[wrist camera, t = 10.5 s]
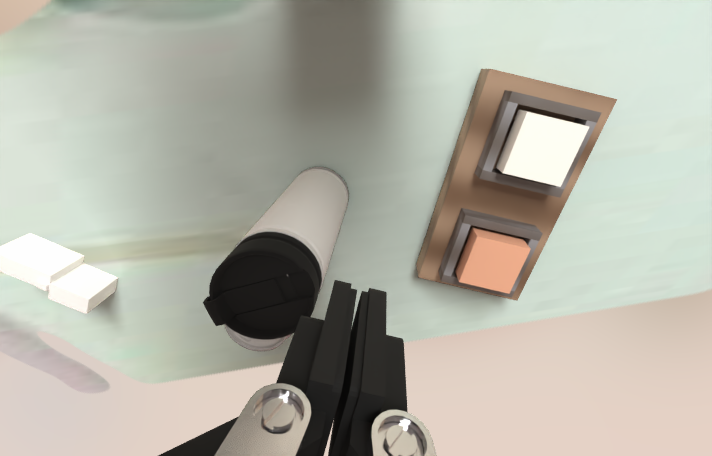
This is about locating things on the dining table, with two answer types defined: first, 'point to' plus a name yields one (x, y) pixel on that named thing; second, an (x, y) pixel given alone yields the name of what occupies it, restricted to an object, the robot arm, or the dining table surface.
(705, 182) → the dining table surface
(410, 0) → the dining table surface
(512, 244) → the terracotta key
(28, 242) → the white stepped block
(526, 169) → the white key
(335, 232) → the travel mug
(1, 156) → the dining table surface
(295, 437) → the robot arm
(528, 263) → the board
